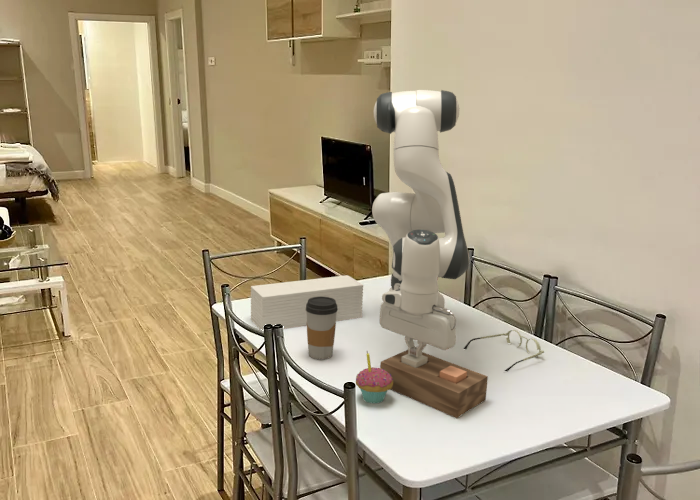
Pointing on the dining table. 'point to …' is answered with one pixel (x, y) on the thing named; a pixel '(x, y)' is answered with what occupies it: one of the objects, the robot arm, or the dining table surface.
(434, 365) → the walnut key panel
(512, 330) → the round eyeglasses
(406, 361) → the cream white cube
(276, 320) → the stack of papers
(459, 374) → the terracotta key
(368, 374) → the cupcake
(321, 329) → the coffee cup
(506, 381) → the dining table surface
